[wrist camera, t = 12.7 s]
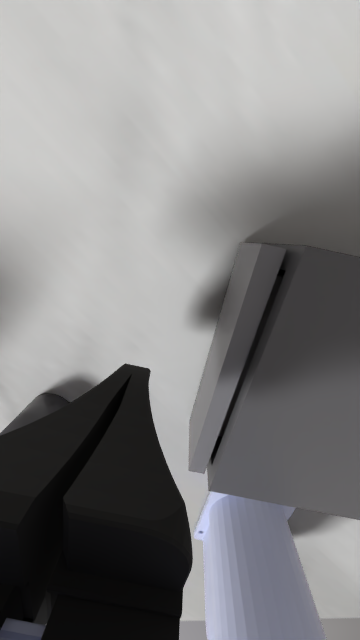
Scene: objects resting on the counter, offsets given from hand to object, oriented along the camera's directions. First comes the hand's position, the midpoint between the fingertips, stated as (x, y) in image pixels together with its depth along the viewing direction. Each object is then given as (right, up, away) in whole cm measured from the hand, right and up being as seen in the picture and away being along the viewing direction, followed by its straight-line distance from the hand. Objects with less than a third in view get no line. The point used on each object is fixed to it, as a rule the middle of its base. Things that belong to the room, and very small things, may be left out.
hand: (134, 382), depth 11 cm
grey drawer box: (+11, 0, +4) cm, 12 cm away
